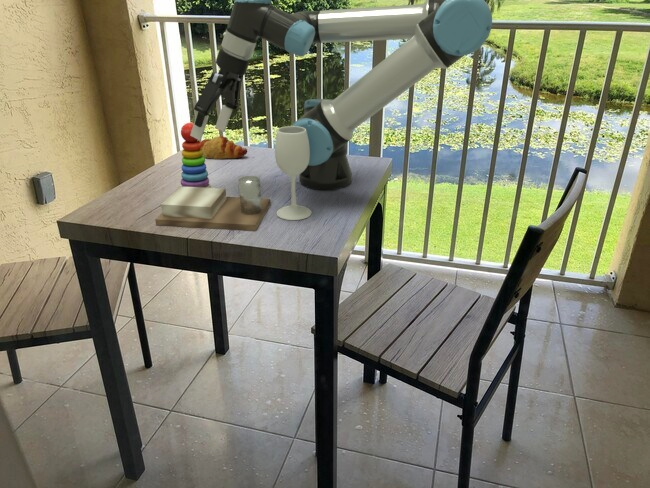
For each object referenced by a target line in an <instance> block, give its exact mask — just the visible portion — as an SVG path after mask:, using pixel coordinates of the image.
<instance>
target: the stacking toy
mask: <svg viewBox="0 0 650 488" xmlns="http://www.w3.org/2000/svg"><path fill="white" fill-rule="evenodd" d="M193 125H194V122H186V123H184V124H183V125H182V127H181V129H180V136H181V137H182V139H183V140H184V141H183V142H182V144H181V147H182V151H181V156H182V158H181V162H182V165H181V171H182V172H181V179H180V186H183V187H203V188H212V186H211V184H210V178H209V177H208V176H209V173H208V171H207V164H206V163H205V162H206V158H205V157H204V156H202V155H203V150H202V149H200V148H201V147H202V143H201V140H198V139H196V138H194V137H192V136H190V134H191V131H192V128H193Z"/></svg>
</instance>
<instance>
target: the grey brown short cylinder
mask: <svg viewBox="0 0 650 488" xmlns="http://www.w3.org/2000/svg"><path fill="white" fill-rule="evenodd" d="M238 192H239V193H238V194H239V197H240V206H241V212H242V213H243V214H247V215H253V214H258V213H260V212H261V211H262V209H261V198H262V196H261V195H262V194H261V179H260V177H258V176H255V175H245V176H241V177H240V178H238Z"/></svg>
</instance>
